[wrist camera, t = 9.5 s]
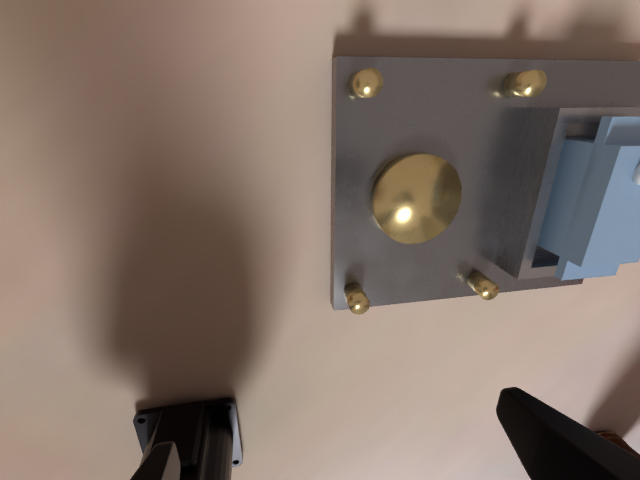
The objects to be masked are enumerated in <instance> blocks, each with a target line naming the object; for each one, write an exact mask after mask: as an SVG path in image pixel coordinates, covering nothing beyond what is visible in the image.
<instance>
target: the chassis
mask: <svg viewBox="0 0 640 480" xmlns="http://www.w3.org/2000/svg"><path fill="white" fill-rule="evenodd" d="M602 116H640V61H608V60H546V59H484V58H422V57H360V56H336V57H334V58H333V59H332V163H331V304H332V307H333V310H344V309H350V310H351V311H352V312H353V313H354V314H363V313H365V312H366V311H367V310H368V309H369V307H371V306H381V305H390V304H399V303H409V302H418V301H427V300H436V299H446V298H455V297H464V296H473V295H480V296H481V297H482V298H483V299H485V300H491V299H493V298H494V297H496V295H497V294H498V293H501V292H511V291H520V290H529V289H538V288H548V287H557V286H566V285H576V284H582V282H583V279H584V278H582V279H572V280H562V281H561V280H560V279H558V278H556V277H555V276H554V275H555V271H556V268H557V265H558V261H559V258H560V257H559V256H557V255H555V254H553V253H551V252H549V251H547V250H545V249H543V248H542V247H540V246H538V245H537V243H538V239H539V235H540V231H541V228H542V224H543V220H544V216H545V212H546V208H547V205H548V201H549V197H550V193H551V189H552V186H553V182H554V178H555V174H556V170H557V166H558V163H559V159H560V155H561V151H562V147H563V144H564V140H565V136H596V135H597V131H598V128H599V125H600V121H601V118H602Z"/></svg>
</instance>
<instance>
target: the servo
mask: <svg viewBox="0 0 640 480" xmlns="http://www.w3.org/2000/svg"><path fill="white" fill-rule="evenodd" d="M537 245H538V246H540V247H542V248H543V249H545V250H547V251H549V252H551V253H553V254H555V255H557V256H559V257H560V258H559V261H558V265H557V268H556V271H555V275H554V276H555V277H556V278H558V279H560V280H561V281H562V280H572V279H582V278H592V277H602V276H612V275H616V272H617V270H618V267H619V264H623V263H634V262H638V261H639V258H640V116H602V118H601V121H600V125H599V128H598V131H597V135H596V136H565V140H564V144H563V147H562V151H561V155H560V159H559V163H558V166H557V170H556V174H555V178H554V182H553V186H552V189H551V193H550V197H549V201H548V205H547V208H546V212H545V216H544V220H543V224H542V228H541V231H540V235H539V239H538V243H537Z"/></svg>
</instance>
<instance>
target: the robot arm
mask: <svg viewBox="0 0 640 480" xmlns="http://www.w3.org/2000/svg"><path fill="white" fill-rule="evenodd" d="M227 405H229V406H227ZM496 413H497V416H498V419H499V421H500V423H501V425H502V426H503V428H504V430H505V432H506V434H507V436H508V438H509V440H510V442H511V444H512V446H513V447H514V449H515V451H516V453H517V455H518V457H519V459H520V461H521V463H522V465H523V466H524V468H525V470H526V472H527V474H528V475H529V477H530V478H531V480H640V459H639V458H638V457H636V456H634V455H633V454H631V453H629V452H627V451H626V450H624V449H622V448H621V447H619V446H617V445H615V444H614V443H612V442H610V441H609V440H607V439H605V438H603V437H602V436H600V435H598V434H597V433H595V432H593V431H591V430H590V429H588V428H586V427H585V426H583V425H581V424H579V423H578V422H576V421H574V420H573V419H571V418H569V417H567V416H566V415H564V414H562V413H561V412H559V411H557V410H555V409H554V408H552V407H550V406H549V405H547V404H545V403H543V402H542V401H540V400H538V399H537V398H535V397H533V396H531V395H530V394H528V393H526V392H525V391H523V390H521V389H519V388H517V387H510V388H504V389H502V390H501V392H500V396H499V400H498V404H497V407H496ZM133 423H134V426H135V429H136V432H137V436H138V439H139V442H140V446H141V449H142V452H143V457H142V460H141V463H140V466H139V468H138V470H137V471H136V472H135V474H134V475H133V476H132V478H131V479H130V480H231V471H232V467H237V466H240V465H241V464H242V462H243V453H242V446H241V439H240V431H239V424H238V417H237V410H236V402H235V400H234V399H232V398H223V399H216V400H209V401H202V402H195V403H188V404H181V405H174V406H167V407H160V408H153V409H146V410H141V411H138V412H137V413H136V414H135V417H134V419H133Z"/></svg>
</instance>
